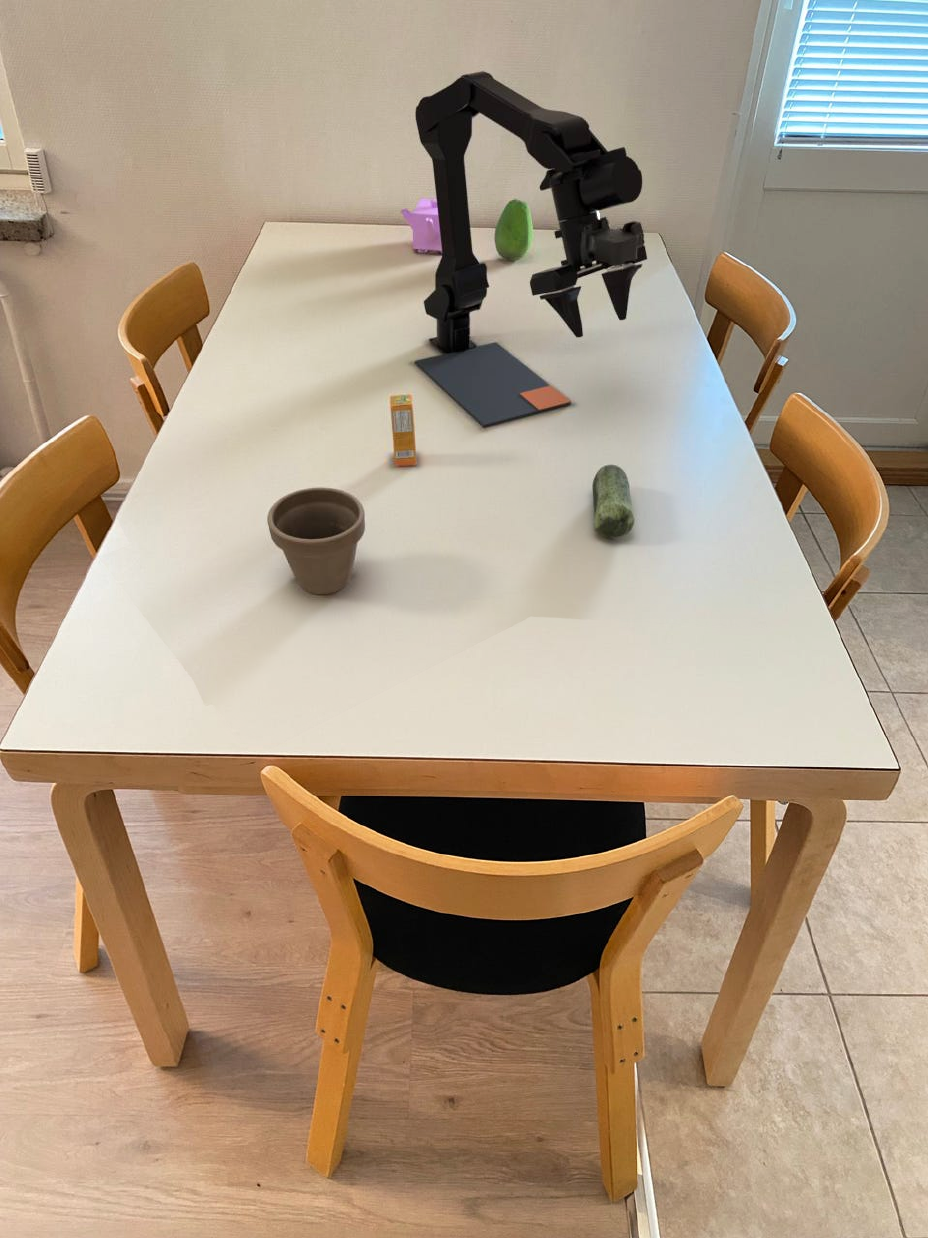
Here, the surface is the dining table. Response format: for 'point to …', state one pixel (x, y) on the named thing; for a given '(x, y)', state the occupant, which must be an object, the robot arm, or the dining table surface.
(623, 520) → the vegetable
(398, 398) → the supplement box
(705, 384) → the dining table surface
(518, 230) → the avocado
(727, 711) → the dining table surface
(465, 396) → the mat
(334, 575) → the flower pot
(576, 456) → the dining table surface
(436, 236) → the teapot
